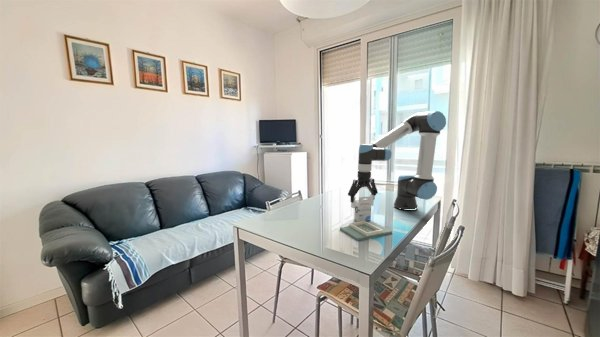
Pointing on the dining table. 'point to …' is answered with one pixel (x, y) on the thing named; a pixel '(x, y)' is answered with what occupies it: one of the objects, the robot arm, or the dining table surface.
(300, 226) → the dining table surface
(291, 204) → the dining table surface
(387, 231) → the board
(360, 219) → the ink box
